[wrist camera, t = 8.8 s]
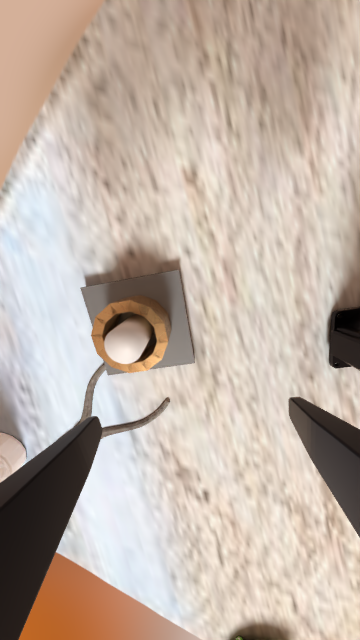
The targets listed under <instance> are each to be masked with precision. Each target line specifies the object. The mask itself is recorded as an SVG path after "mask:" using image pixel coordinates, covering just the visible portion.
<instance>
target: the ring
mask: <svg viewBox="0 0 360 640" xmlns="http://www.w3.org/2000/svg"><path fill="white" fill-rule="evenodd" d="M124 312H133V313H135V314H138V315H141V316H144V317H145V318H146V319H147V320H148V321H149V322H150V324H151V325H152V326H153V327H154V329H155V333H156V338H157V341H156V342H155V343H154V344H152V345H151V346H147V347H145V349H144V351H143V352H142V354H141V356H140V357H139V359H138V360H136V361H135V362H133V363H130V364H121V363H118V362H116V361H114V360H112V359H111V358H110V357H109V356H108V354H107V353H106V351H105V347H104V341H105V338H106V336H107V334H108V333H109V332H110V331H112V330H113V329H114V328H116V327H117V326H118V321H119V318H120V314H121V313H124ZM171 330H172V329H171V324H170V319H169V314H168V313H167V311H166V310H165V309H164V308H163V307H162V306H161V305H160V304H159V302H158V301H156V300H153V299H151V298H148V297H145V296H142V295H138V296H133V297H127V298H123V299H121V300H118V301H116V302H113V303H111V304H109V305H108V306H107V307H106V308H105V309H103V310H102V311H101V312H100V313H99V314H98V315H97V316H96V317H95V321H94V325H93V330H92V334H91V336H92V339H93V342H94V345H95V348H96V351H97V354H98V355H99V356H100V357H101V358H102V359H103V360H104V361H105V362H107V363H108V364H109V365H110V366H111V367H113V368H116V369H119V370H122V371H125V372H128V373H133V372H140V371H147V370H149V369H150V368H151V367H153V366H154V365H155V364H157V363H158V362H159V361H160V360H162V358H163V355H164V352H165V350H166V347H167V344H168V341H169V337H170V334H171Z"/></svg>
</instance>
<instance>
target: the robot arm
mask: <svg viewBox="0 0 360 640" xmlns="http://www.w3.org/2000/svg"><path fill="white" fill-rule="evenodd" d="M338 314H339V316H338ZM337 316H338V317H337ZM336 362H337V363H336ZM335 363H336V364H335ZM330 365H331V366H332V367H334V368H343V367H351V366H353V367H354V368H356V369H358V370H360V307H354V308H348V309H341V310H336V311H334V312H333V313H332V319H331V341H330ZM289 416H290V419H291V421H292V423H293V425H294V427H295V429H296V431H297V433H298V435H299V437H300V439H301V441H302V443H303V444H304V446H305V448H306V450H307V452H308V454H309V456H310V458H311V460H312V461H313V463H314V465H315V466H316V468H317V470H318V471H319V473H320V474H321V476H322V478H323V479H324V481H325V482H326V484H327V486H328V487H329V489H330V490H331V492H332V494H333V495H334V497H335V499H336V500H337V502H338V503H339V505H340V507H341V508H342V510H343V511H344V513H345V515H346V516H347V518H348V519H349V521H350V523H351V524H352V526H353V528H354V529H355V531H356V532H357V534H358V536H359V537H360V429H358V428H356V427H354V426H352V425H351V424H349V423H347V422H345V421H343V420H341V419H340V418H338V417H336V416H334V415H332V414H330V413H328V412H327V411H325V410H323V409H321V408H319V407H317V406H316V405H314V404H312V403H310V402H308V401H306V400H305V399H303V398H301V397H291V398H289ZM101 436H102V427H101V424H100V421H99V418H98V417H97V416H93V417H88V418H87V419H85V420H84V421H82V422H81V423H80V424H78V425H77V426H76V427H74V428H73V429H72V430H70V431H69V432H68V433H66V434H65V435H64V436H62V437H61V438H60V439H58V440H57V441H56V442H54V443H53V444H52V445H50V446H49V447H48V448H46V449H45V450H44V451H42V452H41V453H40V454H38V455H37V456H35V457H34V458H33V459H31V460H30V461H29V462H27V463H26V464H25V465H23V466H22V467H21V468H19V469H18V470H17V471H15V472H14V473H13V474H11V475H10V476H9V477H7V478H6V479H5V480H3V481H2V482H1V483H0V640H18V639H19V637H20V635H21V632H22V630H23V628H24V625H25V623H26V621H27V618H28V616H29V613H30V611H31V609H32V606H33V604H34V601H35V599H36V597H37V595H38V592H39V590H40V587H41V585H42V583H43V581H44V578H45V576H46V573H47V571H48V569H49V566H50V564H51V562H52V559H53V557H54V554H55V552H56V550H57V548H58V545H59V543H60V540H61V538H62V536H63V533H64V531H65V529H66V526H67V524H68V522H69V519H70V517H71V515H72V512H73V510H74V507H75V505H76V503H77V500H78V498H79V496H80V493H81V491H82V489H83V486H84V484H85V482H86V479H87V477H88V474H89V472H90V469H91V466H92V463H93V460H94V457H95V454H96V451H97V448H98V445H99V442H100V439H101Z"/></svg>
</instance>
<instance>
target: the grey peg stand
mask: <svg viewBox="0 0 360 640" xmlns="http://www.w3.org/2000/svg"><path fill="white" fill-rule="evenodd" d="M81 291H82V294H83V298H84V301H85V304H86V307H87V310H88V313H89V317H90V320H91V323H92V326H93V325H94V321H95V317H96V316H97V315H98V314H99V313H100V312H101V311H102V310H103V309H105V308H106V307H107V306H108V305H109V304H111V303H113V302H116V301H118V300H121V299H123V298H127V297H133V296H138V295H142V296H145V297H148V298H151V299H153V300H156V301H158V302H159V304H160V305H161V306H162V307H163V308H164V309H165V310H166V311H167V313H168V314H169V319H170V324H171V329H172V330H171V334H170V337H169V341H168V344H167V347H166V350H165V352H164V355H163V358H162V360H160V361H159V362H158V363H157V364H155V365H154V366H153V367H151V368H150V369H156V368H163V367H170V366H177V365H184V364H192V363H195V360H194V354H193V348H192V342H191V336H190V330H189V324H188V319H187V313H186V307H185V301H184V295H183V289H182V284H181V278H180V272H179V270H174V271H168V272H163V273H158V274H152V275H147V276H141V277H136V278H131V279H125V280H120V281H114V282H109V283H104V284H98V285H93V286H87V287H82V288H81ZM156 341H157V338H156V333H155V329H154V327H153V326H152V325H151V324H150V322H149V321H148V320H147V319H146V318H145V317H144V316H141V315H138V314H135V313H133V312H124V313H121V314H120V318H119V321H118V326H117V327H116V328H114V329H113V330H112V331H110V332H109V333H108V334H107V336H106V338H105V341H104V347H105V351H106V353H107V354H108V356H109V357H110V358H111V359H112V360H114V361H116V362H118V363H121V364H130V363H133V362H135V361H136V360H138V359H139V357H140V356H141V354H142V352H143V351H144V349H145V347H147V346H151V345H152V344H154V343H155V342H156ZM103 361H104V360H103ZM104 364H105V367H106V370H107V374H108V375H113V374H120V373H127V372H125V371H122V370H119V369H116V368H113V367H111V366H110V365H109V364H108V363H107V362H105V361H104Z"/></svg>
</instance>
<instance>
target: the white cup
mask: <svg viewBox="0 0 360 640" xmlns="http://www.w3.org/2000/svg"><path fill="white" fill-rule="evenodd" d="M25 460H26V450H25V448H24V447H23V445H22V444H21V442H19V441H18V440H17V439H15V438H14V437H13V436H11V435H8V434H5V433H2V432H0V483H1V482H2V481H3V480H5V479H6V478H7V477H9V476H10V475H11V474H13V473H14V472H15V471H17V470H18V469H19V468H21V466H22V465H23V463H24V462H25Z"/></svg>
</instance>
